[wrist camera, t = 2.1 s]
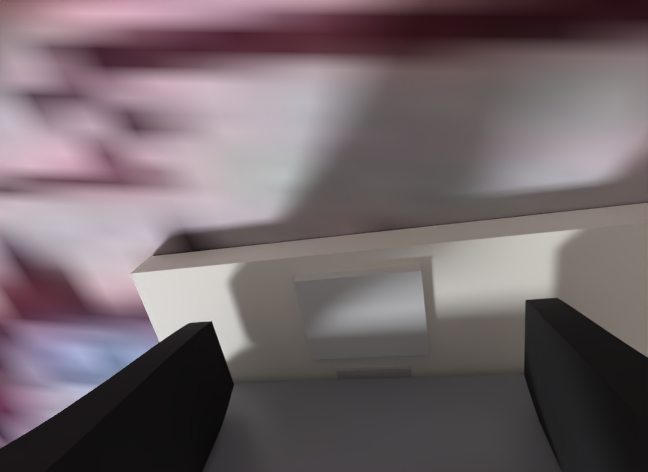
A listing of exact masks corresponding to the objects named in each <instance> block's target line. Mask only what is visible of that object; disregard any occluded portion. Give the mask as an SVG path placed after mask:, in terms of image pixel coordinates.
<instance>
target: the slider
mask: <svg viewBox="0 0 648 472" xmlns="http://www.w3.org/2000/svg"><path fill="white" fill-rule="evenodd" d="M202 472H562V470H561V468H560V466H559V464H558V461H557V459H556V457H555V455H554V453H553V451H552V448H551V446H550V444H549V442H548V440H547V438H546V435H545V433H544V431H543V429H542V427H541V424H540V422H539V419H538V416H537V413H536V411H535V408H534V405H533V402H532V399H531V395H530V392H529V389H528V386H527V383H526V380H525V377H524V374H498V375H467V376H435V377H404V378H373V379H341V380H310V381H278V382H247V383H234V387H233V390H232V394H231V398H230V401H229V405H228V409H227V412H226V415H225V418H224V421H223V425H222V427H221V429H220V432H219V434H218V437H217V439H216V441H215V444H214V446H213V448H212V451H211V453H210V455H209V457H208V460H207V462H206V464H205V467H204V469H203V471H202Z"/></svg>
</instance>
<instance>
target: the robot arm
mask: <svg viewBox="0 0 648 472" xmlns="http://www.w3.org/2000/svg"><path fill="white" fill-rule="evenodd" d="M524 377H525V380H526V383H527V386H528V389H529V392H530V395H531V399H532V402H533V405H534V408H535V411H536V413H537V416H538V419H539V422H540V424H541V427H542V429H543V431H544V433H545V435H546V438H547V440H548V442H549V444H550V446H551V448H552V451H553V453H554V455H555V457H556V459H557V461H558V464H559V466H560V468H561V470H562V472H648V357H646V356H645V355H643V354H642V353H640V352H638V351H637V350H635V349H634V348H632V347H631V346H629V345H628V344H626V343H625V342H623V341H622V340H620V339H619V338H617V337H616V336H614V335H613V334H611V333H610V332H608V331H607V330H605V329H604V328H602V327H601V326H599V325H598V324H596V323H595V322H593V321H592V320H590V319H589V318H587V317H586V316H584V315H583V314H582V313H580V312H579V311H577V310H576V309H574V308H573V307H571V306H570V305H568V304H567V303H565V302H563V301H562V300H560V299H559V298H545V299H531V300H525V351H524ZM233 387H234V383H233V380H232V377H231V374H230V371H229V368H228V366H227V363H226V360H225V357H224V354H223V351H222V349H221V346H220V343H219V340H218V337H217V334H216V332H215V329H214V326H213V323H212V321H208V322H193V323H188V324H187V325H185V326H183V327H182V328H180V329H179V330H177V331H175V332H174V333H173V334H171V335H170V336H168V337H167V338H165V339H164V340H162V341H161V342H160V343H158V344H157V345H155V346H154V347H153V348H151V349H150V350H148V351H147V352H146V353H144V354H143V355H141V356H140V357H139V358H137V359H136V360H135V361H133V362H132V363H130V364H129V365H128V366H126V367H125V368H123V369H122V370H121V371H119V372H118V373H117V374H115V375H114V376H112V377H111V378H110V379H108V380H107V381H105V382H104V383H102V384H101V385H99V386H98V387H96V388H95V389H94V390H92V391H91V392H89V393H88V394H86V395H85V396H83V397H82V398H80V399H79V400H77V401H76V402H74V403H73V404H71V405H70V406H69V407H67V408H66V409H64V410H63V411H61V412H60V413H58V414H57V415H55V416H53V417H52V418H50V419H49V420H47V421H46V422H44V423H42V424H41V425H39V426H38V427H36V428H34V429H33V430H31V431H29V432H28V433H26V434H24V435H23V436H21V437H19V438H18V439H16V440H14V441H13V442H11V443H9V444H8V445H6V446H4V447H2V448H1V449H0V472H202V471H203V469H204V467H205V464H206V462H207V460H208V457H209V455H210V453H211V451H212V448H213V446H214V444H215V441H216V439H217V437H218V434H219V432H220V429H221V427H222V425H223V421H224V418H225V415H226V412H227V409H228V405H229V401H230V398H231V394H232V390H233Z"/></svg>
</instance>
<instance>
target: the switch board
mask: <svg viewBox="0 0 648 472" xmlns="http://www.w3.org/2000/svg"><path fill="white" fill-rule="evenodd" d="M131 276H132V278H133V281H134V283H135V285H136V288H137V290H138V292H139V295H140V297H141V300H142V302H143V304H144V307H145V309H146V311H147V314H148V316H149V318H150V321H151V323H152V325H153V328H154V330H155V332H156V335H157V337H158V339H159V342H161V341H162V340H164V339H165V338H167V337H168V336H170V335H171V334H173V333H174V332H175V331H177V330H179V329H180V328H182V327H183V326H185V325H187V324H188V323H193V322H208V321H212V323H213V326H214V329H215V332H216V334H217V337H218V340H219V343H220V346H221V349H222V351H223V354H224V357H225V360H226V363H227V366H228V368H229V371H230V374H231V377H232V380H233V383H247V382H278V381H310V380H341V379H373V378H404V377H435V376H467V375H498V374H524V351H525V300H531V299H545V298H559V299H560V300H562V301H563V302H565V303H567V304H568V305H570V306H571V307H573V308H574V309H576V310H577V311H579V312H580V313H582V314H583V315H584V316H586V317H587V318H589V319H590V320H592V321H593V322H595V323H596V324H598V325H599V326H601V327H602V328H604V329H605V330H607V331H608V332H610V333H611V334H613V335H614V336H616V337H617V338H619V339H620V340H622V341H623V342H625V343H626V344H628V345H629V346H631V347H632V348H634V349H635V350H637V351H638V352H640V353H642V354H643V355H645V356H646V357H648V203H640V204H631V205H621V206H612V207H603V208H594V209H584V210H575V211H566V212H557V213H547V214H538V215H529V216H519V217H510V218H501V219H492V220H482V221H473V222H464V223H455V224H445V225H436V226H427V227H418V228H408V229H399V230H390V231H381V232H371V233H362V234H353V235H344V236H334V237H325V238H316V239H307V240H297V241H288V242H279V243H270V244H260V245H251V246H242V247H233V248H223V249H214V250H205V251H196V252H186V253H177V254H168V255H159V256H151V257H149V258H148V259H147V260H146V261H145V262H143V263H142V264H141V265H140V266H139V267H138V268H136V269H135V270H134V271H133V272H132V273H131Z"/></svg>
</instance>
